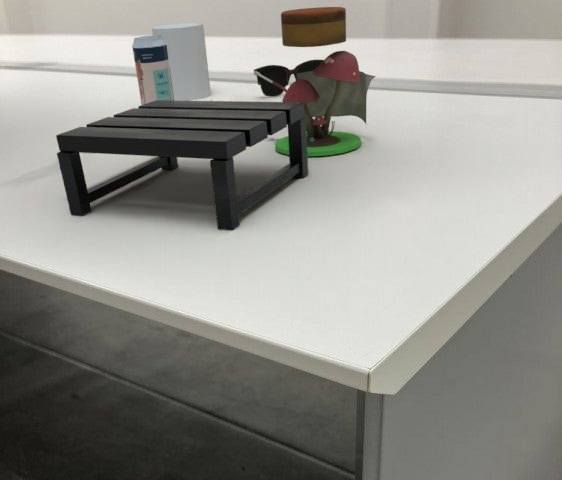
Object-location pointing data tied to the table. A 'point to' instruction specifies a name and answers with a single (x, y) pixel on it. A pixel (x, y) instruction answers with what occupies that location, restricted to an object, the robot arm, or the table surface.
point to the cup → (186, 60)
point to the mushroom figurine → (324, 80)
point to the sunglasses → (281, 76)
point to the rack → (186, 147)
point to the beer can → (152, 69)
